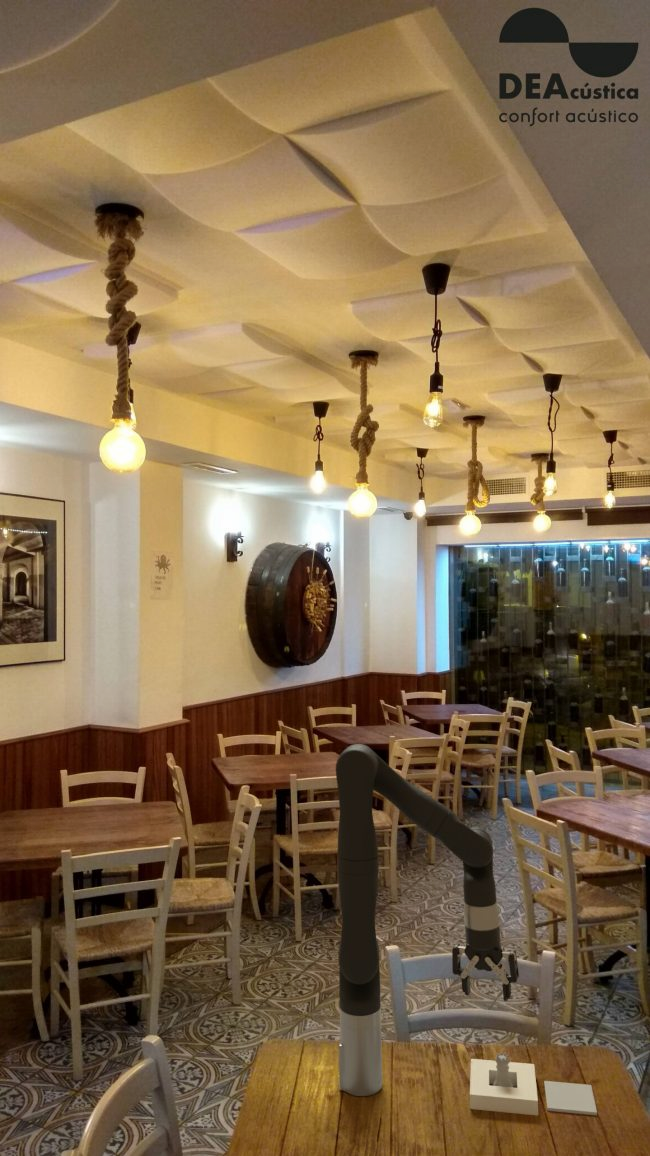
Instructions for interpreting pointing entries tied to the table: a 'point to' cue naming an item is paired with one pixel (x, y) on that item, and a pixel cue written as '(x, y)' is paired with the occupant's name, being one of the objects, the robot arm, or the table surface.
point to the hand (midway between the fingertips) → (487, 996)
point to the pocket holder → (503, 1088)
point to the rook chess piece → (502, 1071)
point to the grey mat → (570, 1098)
